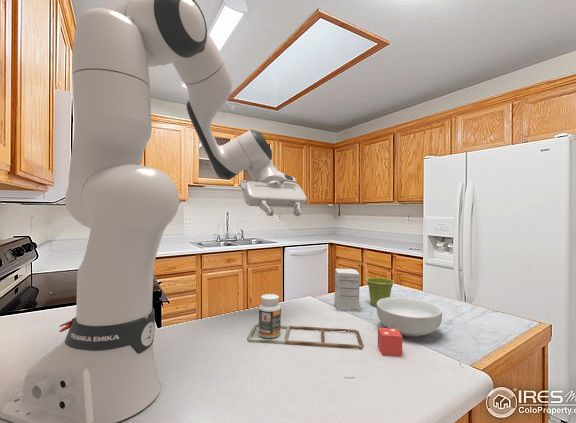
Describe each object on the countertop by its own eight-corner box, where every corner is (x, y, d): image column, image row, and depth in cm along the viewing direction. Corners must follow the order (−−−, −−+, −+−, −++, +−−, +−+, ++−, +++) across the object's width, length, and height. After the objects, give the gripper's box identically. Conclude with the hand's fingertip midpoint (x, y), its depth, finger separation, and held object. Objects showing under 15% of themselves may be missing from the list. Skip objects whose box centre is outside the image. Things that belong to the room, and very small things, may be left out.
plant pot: (360, 304, 102) (360, 279, 102) (374, 299, 109) (375, 276, 109) (385, 311, 95) (385, 285, 95) (398, 305, 102) (398, 280, 102)
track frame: (246, 341, 71) (246, 339, 71) (255, 325, 81) (255, 323, 81) (364, 349, 68) (364, 346, 68) (358, 332, 78) (358, 329, 78)
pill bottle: (277, 340, 72) (278, 300, 72) (255, 337, 73) (256, 298, 73) (282, 331, 78) (283, 294, 78) (262, 329, 79) (262, 292, 79)
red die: (381, 355, 66) (382, 334, 66) (377, 346, 70) (377, 327, 70) (402, 356, 65) (402, 336, 65) (396, 347, 70) (397, 328, 70)
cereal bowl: (378, 316, 91) (378, 293, 91) (437, 324, 85) (437, 300, 85) (373, 338, 75) (374, 310, 75) (446, 350, 69) (446, 320, 69)
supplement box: (334, 304, 102) (334, 268, 102) (355, 304, 102) (355, 268, 102) (336, 311, 95) (337, 272, 95) (359, 311, 94) (360, 273, 94)
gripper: (241, 172, 83) (256, 205, 75) (298, 177, 95) (317, 207, 87) (234, 188, 87) (248, 222, 79) (290, 192, 99) (307, 221, 90)
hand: (285, 214), depth 83 cm, fingers open, 8 cm apart
